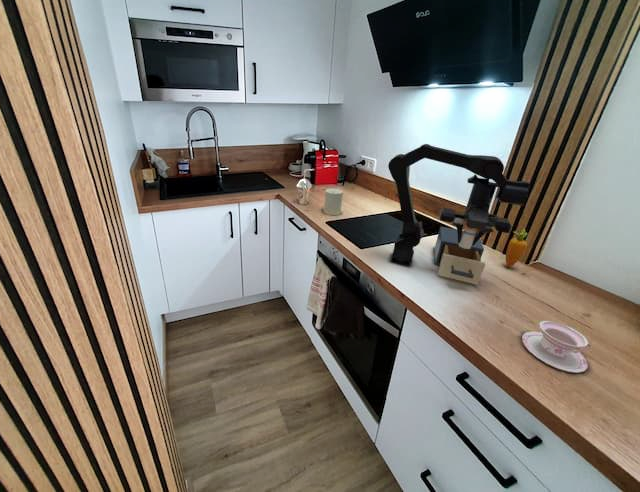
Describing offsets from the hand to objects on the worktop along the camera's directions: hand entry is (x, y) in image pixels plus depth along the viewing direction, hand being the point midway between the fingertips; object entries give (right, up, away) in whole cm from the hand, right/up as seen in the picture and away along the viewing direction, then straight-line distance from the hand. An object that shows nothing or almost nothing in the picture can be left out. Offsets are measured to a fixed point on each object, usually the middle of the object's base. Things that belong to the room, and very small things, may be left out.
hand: (465, 243), depth 94 cm
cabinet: (+5, -7, +14) cm, 17 cm away
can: (-34, +12, +57) cm, 67 cm away
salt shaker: (0, -1, 0) cm, 1 cm away
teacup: (+5, -25, -24) cm, 35 cm away
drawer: (0, -11, +4) cm, 11 cm away
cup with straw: (-48, +18, +68) cm, 85 cm away
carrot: (+23, -10, +11) cm, 27 cm away
